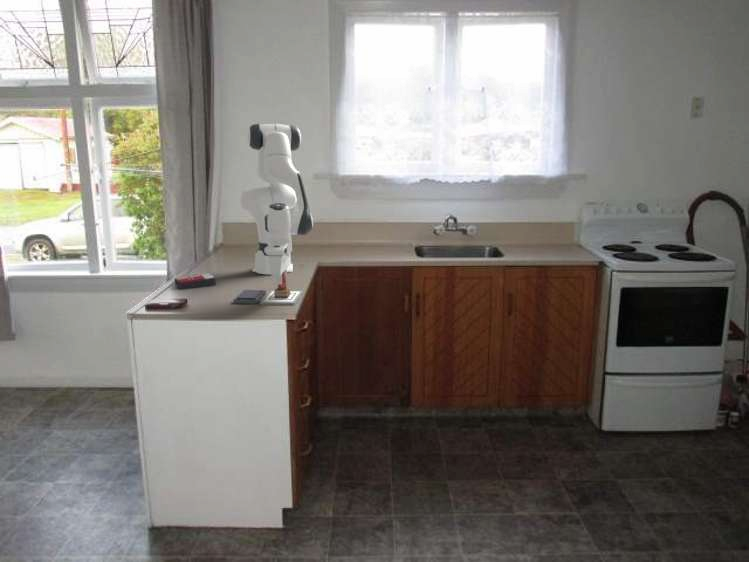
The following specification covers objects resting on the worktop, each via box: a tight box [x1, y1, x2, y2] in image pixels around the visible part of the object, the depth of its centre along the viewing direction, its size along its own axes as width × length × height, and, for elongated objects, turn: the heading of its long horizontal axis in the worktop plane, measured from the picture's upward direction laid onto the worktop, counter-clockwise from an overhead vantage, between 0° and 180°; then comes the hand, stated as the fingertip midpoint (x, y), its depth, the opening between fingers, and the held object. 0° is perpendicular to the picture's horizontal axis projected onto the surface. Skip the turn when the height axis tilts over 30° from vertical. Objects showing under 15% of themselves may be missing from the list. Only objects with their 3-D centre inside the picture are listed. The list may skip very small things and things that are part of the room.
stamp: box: [273, 272, 291, 298], centre depth 238 cm, size 6×5×9 cm
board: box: [259, 290, 304, 306], centre depth 239 cm, size 18×13×1 cm
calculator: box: [174, 272, 217, 291], centre depth 262 cm, size 11×4×15 cm
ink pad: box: [232, 289, 267, 305], centre depth 239 cm, size 14×9×2 cm, turn 176°
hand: (281, 282), depth 237 cm, fingers open, 5 cm apart
